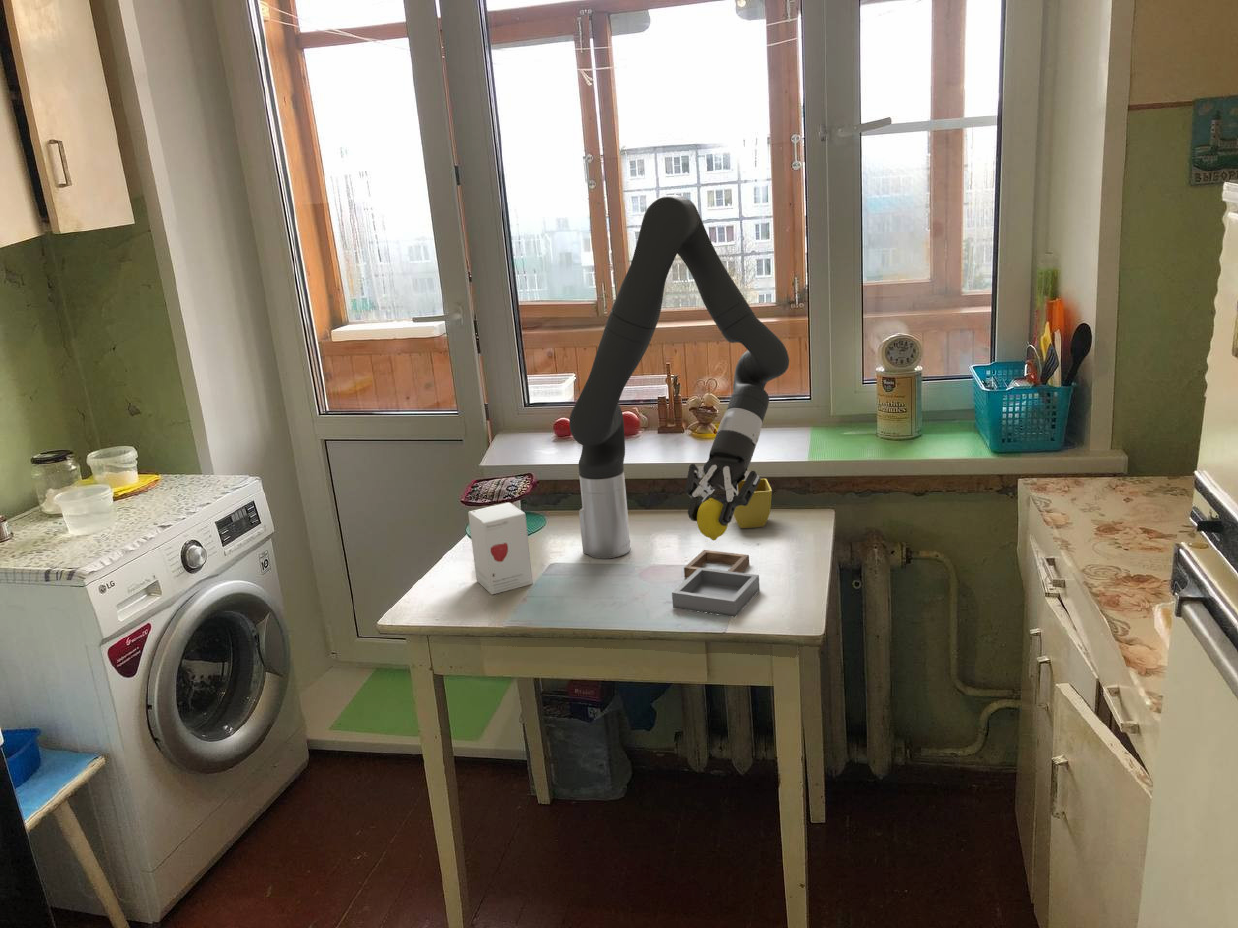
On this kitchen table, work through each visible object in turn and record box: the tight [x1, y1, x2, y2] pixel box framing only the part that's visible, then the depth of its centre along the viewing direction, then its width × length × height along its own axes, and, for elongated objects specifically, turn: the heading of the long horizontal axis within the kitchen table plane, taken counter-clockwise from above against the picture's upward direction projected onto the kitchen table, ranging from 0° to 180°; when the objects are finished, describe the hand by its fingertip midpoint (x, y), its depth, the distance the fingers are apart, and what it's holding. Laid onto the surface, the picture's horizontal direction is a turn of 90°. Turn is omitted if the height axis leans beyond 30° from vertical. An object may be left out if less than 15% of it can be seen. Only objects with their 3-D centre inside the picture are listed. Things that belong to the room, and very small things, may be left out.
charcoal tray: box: [671, 567, 760, 618], centre depth 175 cm, size 12×12×3 cm
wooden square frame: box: [683, 549, 750, 579], centre depth 187 cm, size 10×10×2 cm
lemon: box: [696, 497, 729, 541], centre depth 171 cm, size 6×6×8 cm
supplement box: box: [467, 502, 534, 596], centre depth 189 cm, size 9×9×15 cm
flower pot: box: [733, 478, 773, 529], centre depth 210 cm, size 9×9×9 cm
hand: (707, 521), depth 170 cm, fingers closed on lemon, 5 cm apart
